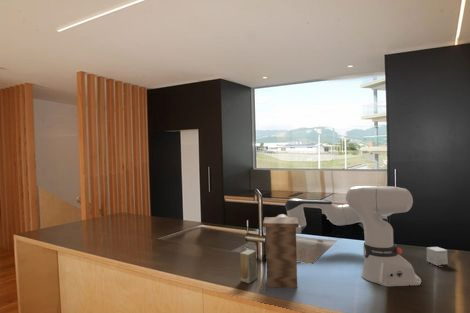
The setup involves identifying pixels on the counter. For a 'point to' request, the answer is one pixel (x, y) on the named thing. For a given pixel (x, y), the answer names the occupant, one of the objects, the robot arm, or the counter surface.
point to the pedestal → (281, 251)
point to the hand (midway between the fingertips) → (281, 232)
